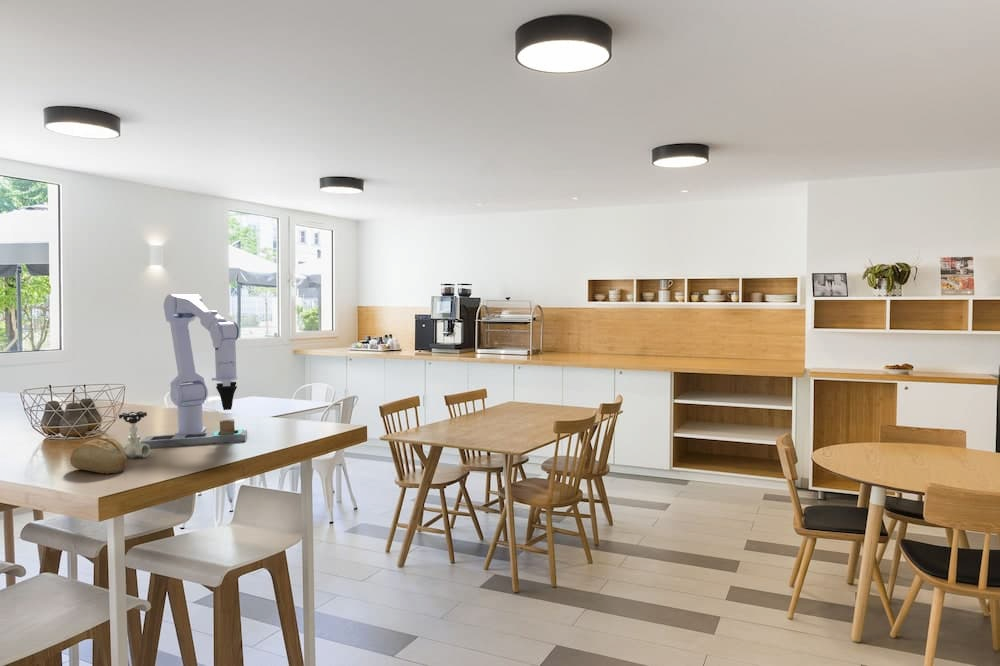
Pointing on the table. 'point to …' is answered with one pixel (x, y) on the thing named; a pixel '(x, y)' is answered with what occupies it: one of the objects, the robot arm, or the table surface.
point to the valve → (134, 436)
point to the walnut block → (227, 426)
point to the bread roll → (99, 456)
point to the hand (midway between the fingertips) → (227, 407)
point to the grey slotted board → (194, 439)
